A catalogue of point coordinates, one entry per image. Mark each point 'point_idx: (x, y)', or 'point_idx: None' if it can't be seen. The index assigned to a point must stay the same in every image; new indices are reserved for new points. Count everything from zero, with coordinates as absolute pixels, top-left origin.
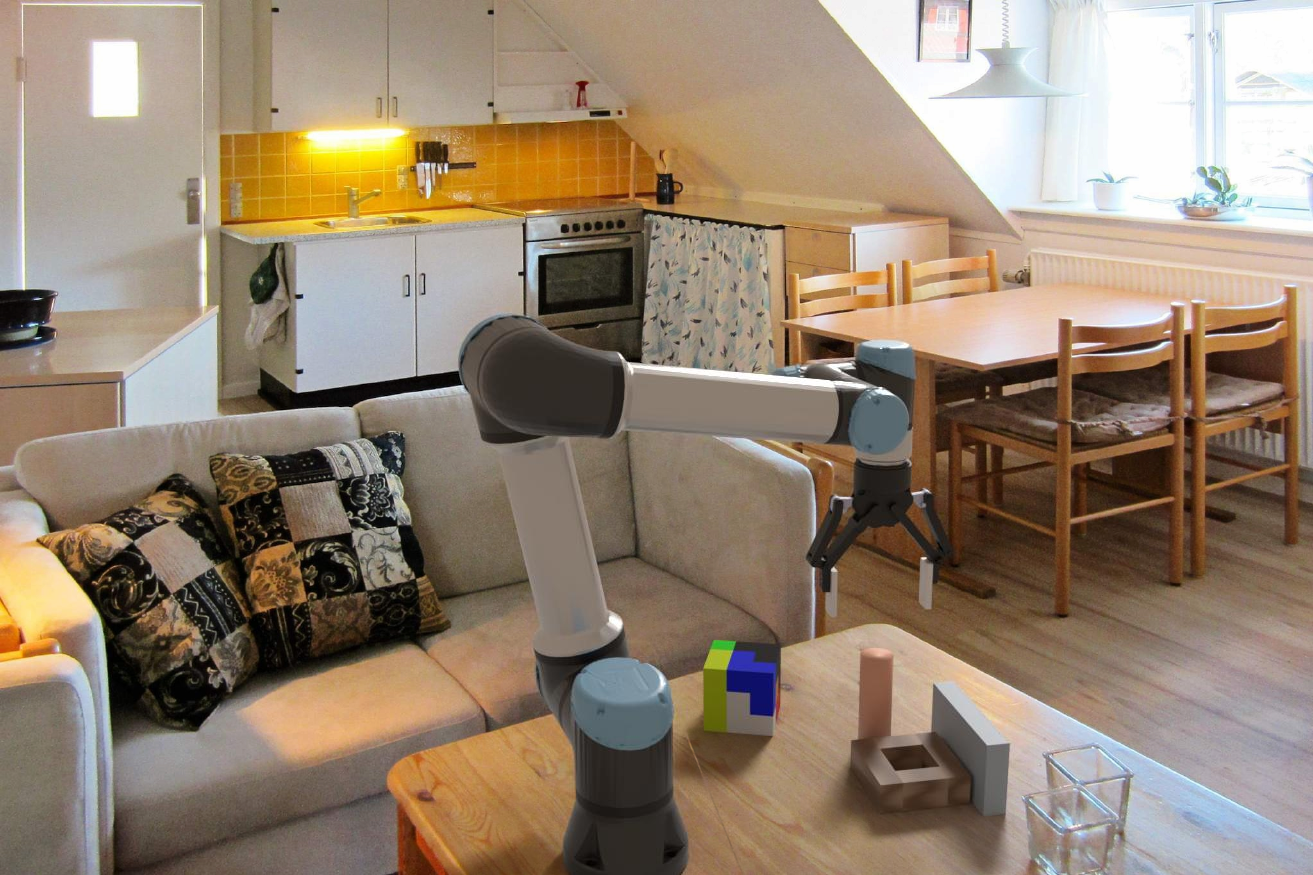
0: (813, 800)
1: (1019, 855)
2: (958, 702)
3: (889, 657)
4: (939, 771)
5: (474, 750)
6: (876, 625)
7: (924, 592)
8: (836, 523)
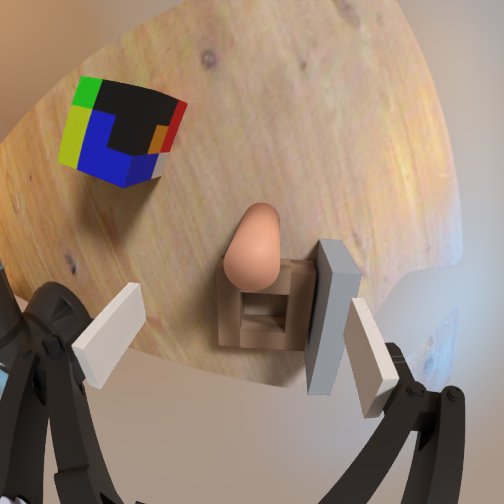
0: (175, 295)
1: (301, 383)
2: (333, 325)
3: (267, 281)
4: (280, 340)
5: None
6: None
7: (352, 347)
8: (36, 486)
